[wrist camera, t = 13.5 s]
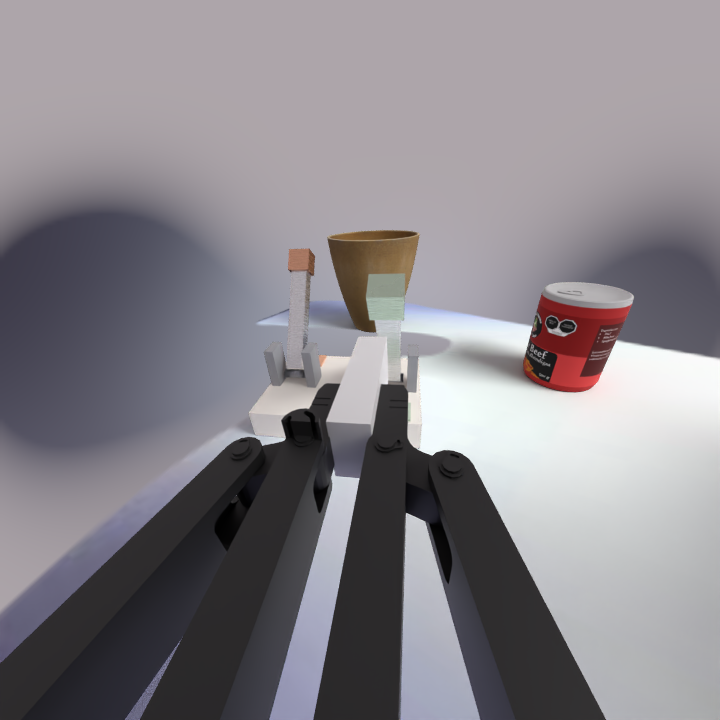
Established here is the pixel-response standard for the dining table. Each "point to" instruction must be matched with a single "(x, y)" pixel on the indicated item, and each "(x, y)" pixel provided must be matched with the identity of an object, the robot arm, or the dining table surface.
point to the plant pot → (369, 265)
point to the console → (318, 372)
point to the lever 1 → (298, 309)
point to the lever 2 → (388, 315)
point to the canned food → (574, 334)
